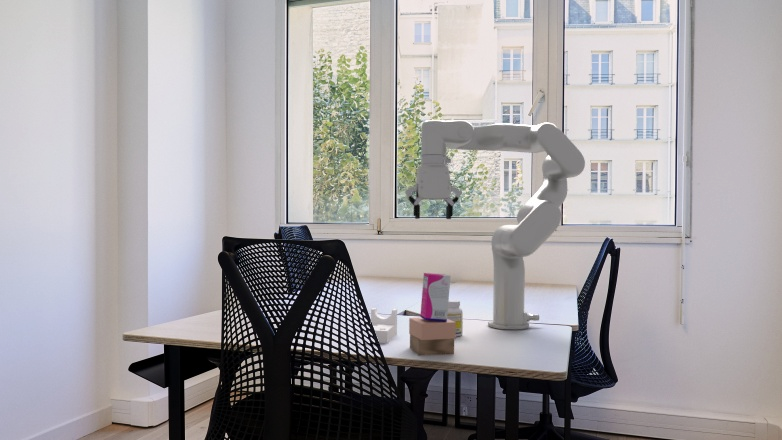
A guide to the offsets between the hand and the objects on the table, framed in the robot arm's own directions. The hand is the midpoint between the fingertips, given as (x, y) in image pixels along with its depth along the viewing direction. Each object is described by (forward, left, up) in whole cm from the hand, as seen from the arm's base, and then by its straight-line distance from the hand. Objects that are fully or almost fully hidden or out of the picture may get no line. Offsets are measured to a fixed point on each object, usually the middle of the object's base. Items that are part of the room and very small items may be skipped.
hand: (433, 218), depth 183 cm
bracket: (+18, +11, -34) cm, 40 cm away
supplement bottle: (-4, +9, -34) cm, 35 cm away
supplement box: (+7, +29, -26) cm, 40 cm away
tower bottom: (+7, +29, -34) cm, 45 cm away
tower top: (+7, +29, -30) cm, 42 cm away
